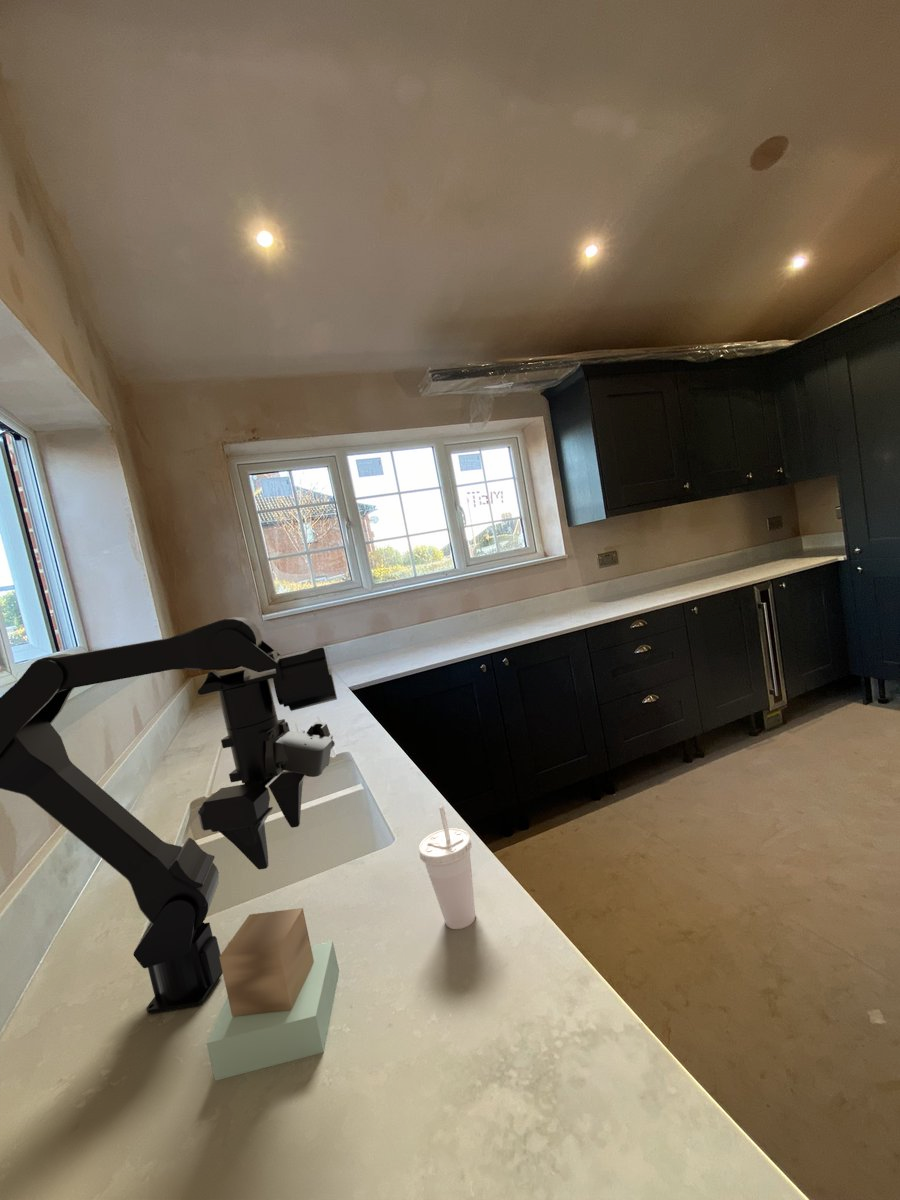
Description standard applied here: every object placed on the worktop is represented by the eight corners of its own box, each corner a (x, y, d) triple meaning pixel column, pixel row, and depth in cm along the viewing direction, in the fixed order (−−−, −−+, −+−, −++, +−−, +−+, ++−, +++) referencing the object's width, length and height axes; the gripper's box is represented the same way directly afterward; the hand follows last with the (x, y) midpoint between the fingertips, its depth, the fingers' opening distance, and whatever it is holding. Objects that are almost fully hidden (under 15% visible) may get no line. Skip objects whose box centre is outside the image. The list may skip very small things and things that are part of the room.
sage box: (216, 1084, 47) (206, 1043, 47) (250, 996, 57) (242, 962, 57) (324, 1056, 48) (315, 1015, 48) (340, 974, 58) (332, 940, 58)
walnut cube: (232, 1016, 49) (219, 956, 49) (260, 967, 55) (249, 914, 55) (291, 1010, 49) (278, 949, 48) (314, 961, 55) (302, 907, 54)
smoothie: (482, 936, 58) (457, 818, 58) (428, 938, 60) (403, 823, 59) (489, 899, 65) (467, 792, 64) (440, 902, 66) (418, 797, 65)
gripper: (283, 735, 51) (317, 884, 52) (340, 689, 70) (364, 800, 71) (180, 754, 53) (214, 899, 53) (263, 704, 71) (287, 812, 72)
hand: (280, 845), depth 62 cm, fingers open, 9 cm apart
